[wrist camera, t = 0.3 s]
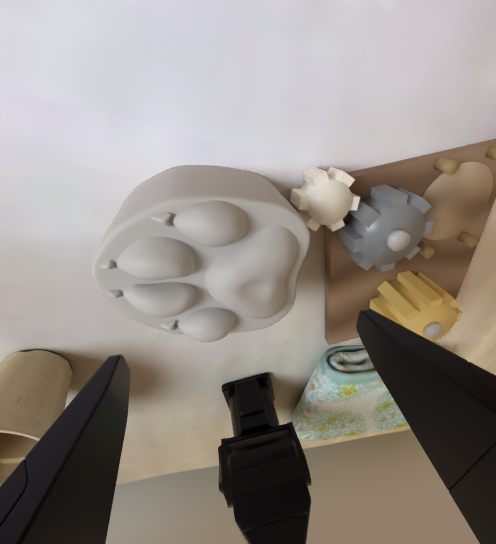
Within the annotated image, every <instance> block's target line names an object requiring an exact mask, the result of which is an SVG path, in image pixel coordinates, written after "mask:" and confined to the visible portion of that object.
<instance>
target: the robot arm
mask: <svg viewBox="0 0 496 544" xmlns="http://www.w3.org/2000/svg"><path fill="white" fill-rule="evenodd" d="M356 329H357V332H358V334H359V336H360V338H361V341H362V343H363V345H364V347H365V349H366V351H367V353H368V356H369V358H370V360H371V362H372V364H373V366H374V368H375V369H376V371H377V373H378V374H379V376H380V378H381V379H382V381H383V383H384V384H385V386H386V388H387V389H388V391H389V393H390V394H391V396H392V398H393V399H394V401H395V403H396V404H397V406H398V408H399V409H400V411H401V413H402V414H403V416H404V418H405V419H406V421H407V423H408V424H409V426H410V428H411V429H412V431H413V433H414V434H415V436H416V438H417V439H418V441H419V443H420V444H421V446H422V448H423V449H424V451H425V453H426V454H427V456H428V457H429V459H430V461H431V463H432V464H433V465H434V468H435V469H436V471H437V472H438V474H439V476H440V478H441V479H442V481H443V482H444V484H445V486H446V488H447V489H448V490H449V493H450V494H451V496H452V498H453V499H454V501H455V503H456V504H457V506H458V508H459V509H460V511H461V512H462V514H463V516H464V518H465V519H466V521H467V523H468V524H469V526H470V528H471V529H472V531H473V533H474V534H475V536H476V538H477V539H478V541H479V543H480V544H496V375H494V374H492V373H490V372H488V371H486V370H484V369H482V368H480V367H478V366H476V365H475V364H473V363H471V362H468V361H467V360H465V359H463V358H461V357H460V356H458V355H456V354H454V353H452V352H450V351H448V350H447V349H445V348H443V347H441V346H439V345H437V344H435V343H433V342H432V341H430V340H428V339H426V338H424V337H422V336H420V335H419V334H417V333H415V332H413V331H411V330H409V329H407V328H406V327H404V326H402V325H400V324H398V323H396V322H394V321H393V320H391V319H389V318H387V317H385V316H383V315H381V314H379V313H378V312H376V311H374V310H372V309H365V310H361V311H360V312H359V315H358V319H357V323H356ZM129 386H130V369H129V367H128V365H127V363H126V361H125V359H124V357H123V355H120V354H119V355H114V356H110V357H108V358H107V359H106V361H105V362H104V363H103V364H102V365H101V367H100V368H99V369H98V370H97V371H96V373H95V374H94V375H93V376H92V377H91V379H90V380H89V381H88V382H87V383H86V385H85V386H84V387H83V388H82V389H81V391H80V392H79V393H78V394H77V395H76V397H75V398H74V399H73V400H72V401H71V403H70V404H69V405H68V406H67V407H66V409H65V410H64V411H63V412H62V413H61V415H60V416H59V417H58V418H57V419H56V421H55V422H54V423H53V424H52V425H51V426H50V428H49V429H48V430H47V431H46V432H45V434H44V435H43V436H42V437H41V438H40V440H39V441H38V442H37V443H36V444H35V446H34V447H33V448H32V449H31V450H30V452H29V453H28V454H27V455H26V456H25V459H23V460H22V461H21V462H20V463H19V465H18V466H17V467H16V468H15V469H14V471H13V472H12V473H11V474H10V475H9V476H8V478H7V479H6V480H5V481H4V482H3V483H2V485H1V486H0V544H105V542H106V536H107V530H108V525H109V520H110V514H111V508H112V503H113V497H114V491H115V486H116V480H117V474H118V469H119V463H120V457H121V452H122V446H123V440H124V435H125V429H126V423H127V416H128V402H129ZM222 392H223V394H224V397H225V399H226V402H227V404H228V407H229V409H230V411H231V418H232V426H233V433H234V437H231V438H227V439H226V438H224V439H221V443H222V444H221V446H219V447H218V453H219V491H220V492H221V493H223V494H224V496H225V499H226V501H227V505H228V508H231V507H233V508H234V517H235V521H236V523H237V525H238V528H239V530H240V532H241V534H242V536H243V537H244V539H245V540H246V542H247V544H306V539H307V531H308V522H309V515H310V506H311V497H310V493H309V490H308V486H311V478H310V473H309V469H308V465H307V461H306V458H305V455H304V453H303V449H302V447H301V444H300V442H299V439H298V436H297V434H296V431H295V428H294V426H293V423H292V422H288V423H287V424H283V425H279V421H278V418H277V414H276V410H275V407H274V403H273V401H274V400H275V398H274V393H273V388H272V383H271V378H270V375H269V374H268V373H265V374H261V375H258V376H254V377H250V378H247V379H243V380H239V381H235V382H232V383H228V384H224V385H222Z"/></svg>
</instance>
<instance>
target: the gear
mask: <svg viewBox="0 0 496 544" xmlns="http://www.w3.org/2000/svg"><path fill="white" fill-rule="evenodd" d="M430 207H431V205H430V204H429V203H428V202H427V201H426V200H425V199H424V198H422V197H420V196H418V195H416V194H413V193H411V192H409V191H407V190H405V189H402V188H400V187H399V188H398V189H397V190H396V189H394V188H392V187H390V186H388V185H386V184H384V185H379V186H375V187H371V195H370V197H368V198H366V199H364V200H363V201H362V202H361V201H360V200H359V204H358V208H357V210H349V213H350V216H349V218H348V220H347V223H346V224H344V225H345V226H343V227H341V228H339V229H338V238H339V239H340V240H341V241H342V242H343V243H344V244H345V245H346V246H345V247H344V248H343V250H344V251H345V252H346V253H347V254H348V255H349V256H350V257H351V258H352V259H353V260H354V261H355V262H356V263H357V264H358V265H359V266H361V267H362V268H364V269H365V270H368V269H369V268H370V267H371V266H372V265H374V266H375V267H376V268H377V269H378V270H379V271H380V272H384V271H388V270H392V269H394V266H395V262H397V261H399V260H401V259H402V258H404V257H406V258H408V259H409V260H410V259H411V258H412V257H413V256H414V255H415V254H417V253H418V252H419V251H420V250H421V249H420V248H418V247H417V245H418V243H419V242H420V240H421V238H422V236H425V235H429V234H431V230H432V227H433V223H434V220H432V219H430V218H428V217H426V216H424V215H423V214H424V213H425V212H426V211H427V210H428V209H429V208H430Z"/></svg>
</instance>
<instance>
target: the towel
mask: <svg viewBox="0 0 496 544" xmlns="http://www.w3.org/2000/svg"><path fill="white" fill-rule="evenodd" d="M435 344H437V343H435ZM437 345H438V344H437ZM288 422H292V423H293V426H294V428H295V431H296V434H297V436H298V438H299V439H307V440H312V441H316V440H326V439H333V438H337V437H341V436H351V435H360V434H368V433H373V432H378V431H384V430H390V429H396V428H402V427H404V426H406V425H409V424H408V423H407V421H406V419H405V418H404V416H403V414H402V413H401V411H400V409H399V408H398V406H397V404H396V403H395V401H394V399H393V398H392V396H391V394H390V393H389V391H388V389H387V388H386V386H385V384H384V383H383V381H382V379H381V378H380V376H379V374H378V373H377V371H376V369H375V368H374V366H373V364H372V362H371V360H370V358H369V356H368V353H367V351H366V349H365V347H364V345H353V346H343V347H338V348H334V349H332V350H330V351H328V352H326V353H325V354H324V355H323V357H322V358H321V360H320V361H319V364H318V365H317V367H316V368H315V370H314V372H313V374H312V376H311V377H310V379H309V381H308V383H307V386H306V388H305V390H304V392H303V394H302V397H301V399H300V401H299V403H298V404H297V406H296V408H295V410H294V411H293V413H292V414H291V416H290V418H289V421H288Z"/></svg>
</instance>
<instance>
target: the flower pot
mask: <svg viewBox="0 0 496 544" xmlns="http://www.w3.org/2000/svg"><path fill="white" fill-rule="evenodd" d="M72 373H73V372H72V370H71V368H70V365H69V362H68V361H67V360H66V359H64V358H62V357H61V356H59V355H57V354H54V353H51V352H48V351H43V350H34V351H29V352H21V351H19V352H15V353H13V354H10V355H9V356H7V357H6V358H5V359H4V360H3V361H2V362H1V363H0V486H1V485H2V483H3V482H4V481H5V480H6V479H7V478H8V476H9V475H10V474H11V473H12V472H13V471H14V469H15V468H16V467H17V466H18V465H19V463H20V462H21V461H22V460H23V459H25V456H26V455H27V454H28V453H29V452H30V450H31V449H32V448H33V447H34V446H35V444H36V443H37V442H38V441H39V440H40V438H41V437H42V436H43V435H44V434H45V432H46V431H47V430H48V429H49V428H50V426H51V425H52V424H53V423H54V422H55V421H56V419H57V418H58V417H59V416H60V415H61V413H62V412H63V411H64V409H65V404H66V399H67V395H68V390H69V386H70V381H71V377H72Z"/></svg>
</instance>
